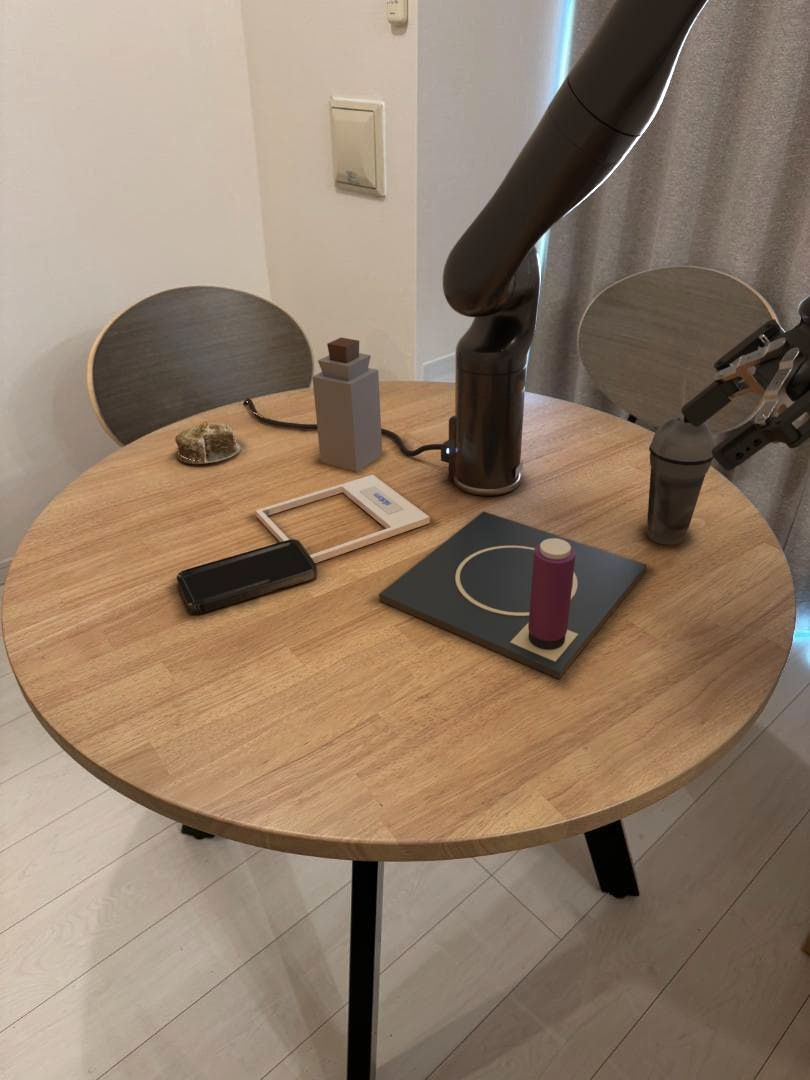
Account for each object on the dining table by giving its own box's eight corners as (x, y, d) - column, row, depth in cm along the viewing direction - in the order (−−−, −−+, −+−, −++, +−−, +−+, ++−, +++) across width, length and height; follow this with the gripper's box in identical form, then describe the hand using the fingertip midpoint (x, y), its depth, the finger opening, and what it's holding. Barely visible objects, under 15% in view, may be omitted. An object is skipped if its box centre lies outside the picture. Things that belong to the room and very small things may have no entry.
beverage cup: (700, 553, 88) (735, 394, 77) (637, 548, 89) (663, 391, 79) (692, 522, 94) (724, 371, 83) (633, 518, 95) (657, 368, 85)
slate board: (379, 600, 82) (378, 592, 81) (483, 517, 97) (483, 510, 96) (559, 679, 70) (560, 670, 70) (646, 571, 85) (647, 563, 85)
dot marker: (520, 641, 74) (527, 549, 68) (538, 621, 76) (546, 531, 70) (554, 655, 72) (564, 562, 66) (572, 635, 74) (583, 543, 68)
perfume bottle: (382, 454, 114) (376, 339, 104) (356, 472, 109) (348, 352, 99) (347, 445, 117) (338, 332, 107) (320, 462, 112) (309, 345, 102)
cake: (163, 462, 115) (154, 429, 112) (209, 439, 122) (202, 408, 119) (209, 471, 110) (201, 437, 107) (254, 446, 117) (248, 414, 114)
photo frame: (429, 515, 95) (302, 559, 87) (429, 523, 96) (303, 567, 88) (372, 473, 106) (255, 509, 98) (373, 480, 106) (256, 516, 98)
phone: (174, 572, 86) (296, 537, 91) (176, 580, 86) (297, 544, 91) (189, 609, 79) (319, 569, 85) (191, 617, 80) (320, 577, 85)
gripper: (816, 243, 60) (653, 380, 67) (912, 285, 48) (702, 447, 55) (863, 307, 63) (701, 433, 69) (965, 363, 51) (758, 508, 57)
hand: (702, 439), depth 62 cm, fingers open, 8 cm apart
